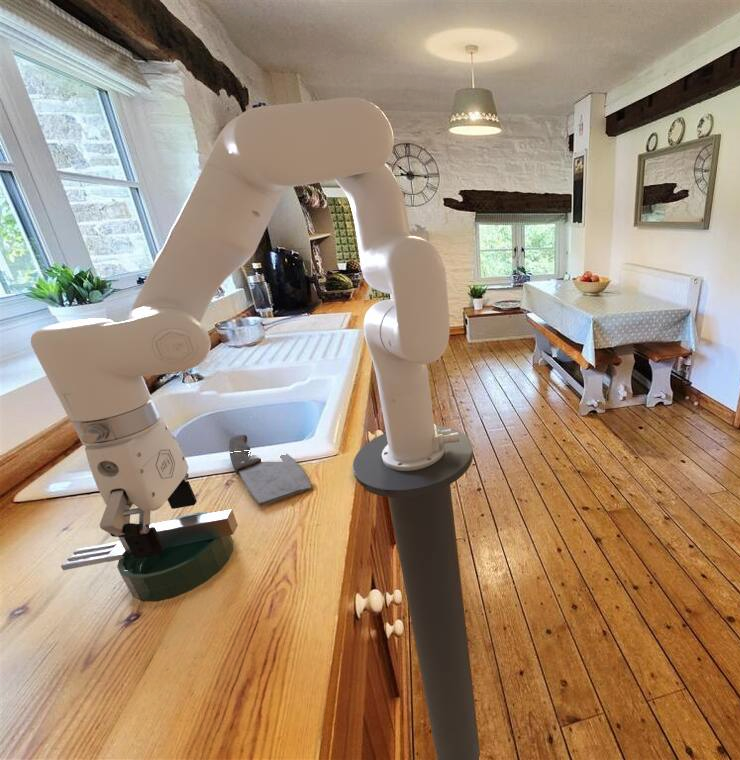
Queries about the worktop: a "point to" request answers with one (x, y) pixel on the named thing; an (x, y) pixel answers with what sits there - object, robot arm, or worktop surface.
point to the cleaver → (267, 474)
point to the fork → (168, 533)
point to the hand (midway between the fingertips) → (169, 528)
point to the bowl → (175, 568)
